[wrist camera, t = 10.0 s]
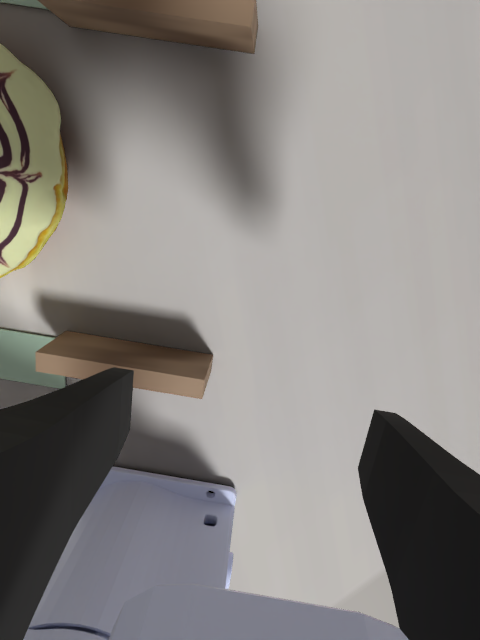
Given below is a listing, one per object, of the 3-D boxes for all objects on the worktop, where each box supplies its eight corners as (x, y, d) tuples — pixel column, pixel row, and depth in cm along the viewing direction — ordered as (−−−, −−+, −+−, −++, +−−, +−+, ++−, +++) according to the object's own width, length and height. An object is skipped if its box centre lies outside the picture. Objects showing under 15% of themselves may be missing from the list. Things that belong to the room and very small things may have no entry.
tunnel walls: (258, 26, 17) (255, -7, 14) (210, 371, 22) (202, 399, 19) (70, -2, 17) (30, -40, 14) (65, 347, 22) (35, 371, 19)
